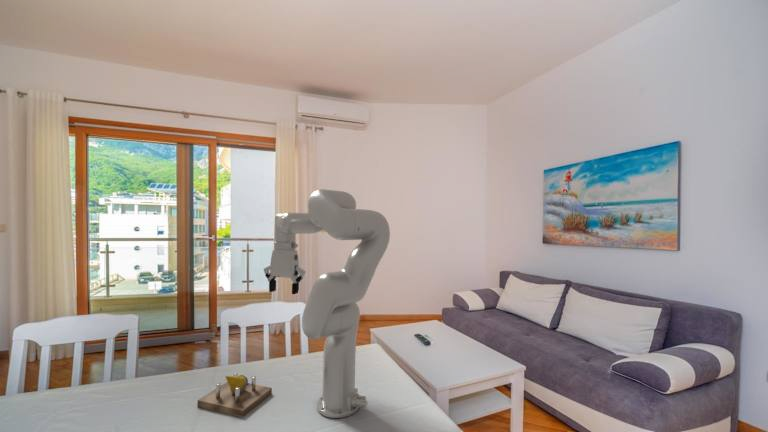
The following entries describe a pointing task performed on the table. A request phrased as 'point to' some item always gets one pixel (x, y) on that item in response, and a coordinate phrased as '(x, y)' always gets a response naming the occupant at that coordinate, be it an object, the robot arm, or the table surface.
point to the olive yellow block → (237, 382)
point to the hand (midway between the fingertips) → (283, 292)
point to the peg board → (235, 398)
